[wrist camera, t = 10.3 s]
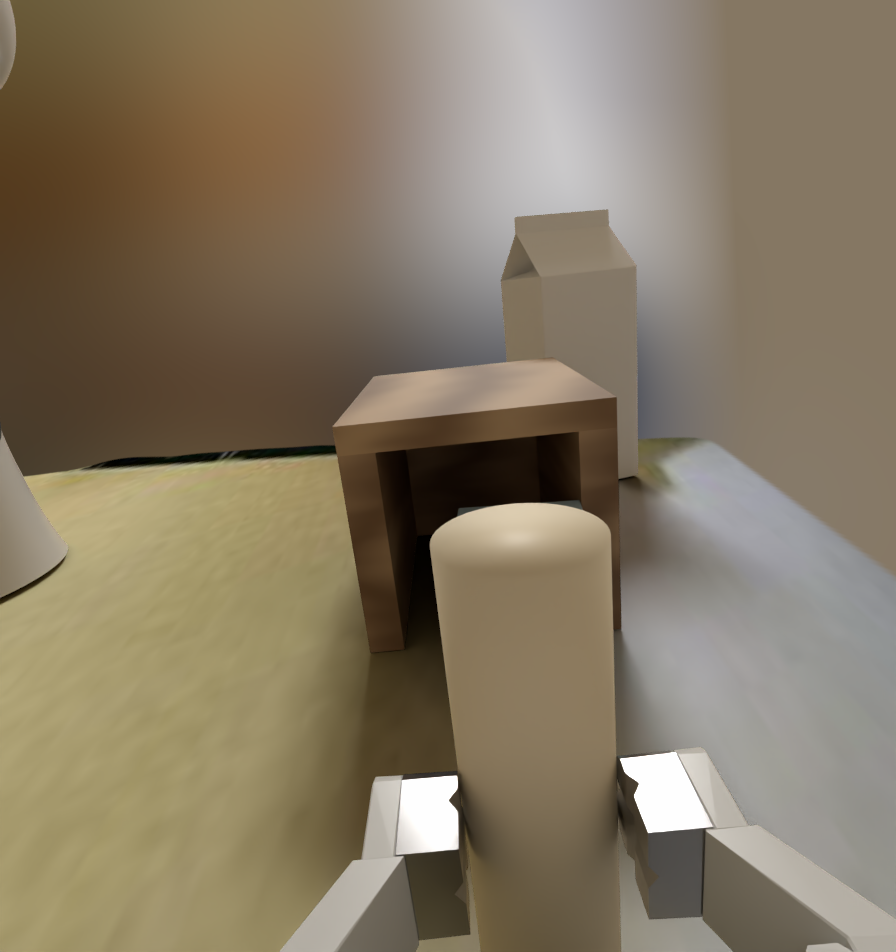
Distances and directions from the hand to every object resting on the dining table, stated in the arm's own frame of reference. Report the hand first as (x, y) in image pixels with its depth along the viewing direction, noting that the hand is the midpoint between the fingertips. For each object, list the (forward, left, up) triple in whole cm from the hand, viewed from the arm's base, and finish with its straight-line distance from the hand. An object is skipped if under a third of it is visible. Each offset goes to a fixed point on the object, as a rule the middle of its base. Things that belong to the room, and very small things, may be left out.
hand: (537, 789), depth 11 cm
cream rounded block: (+1, +7, -6) cm, 9 cm away
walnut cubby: (0, +21, -6) cm, 22 cm away
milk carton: (+8, +36, -6) cm, 37 cm away
